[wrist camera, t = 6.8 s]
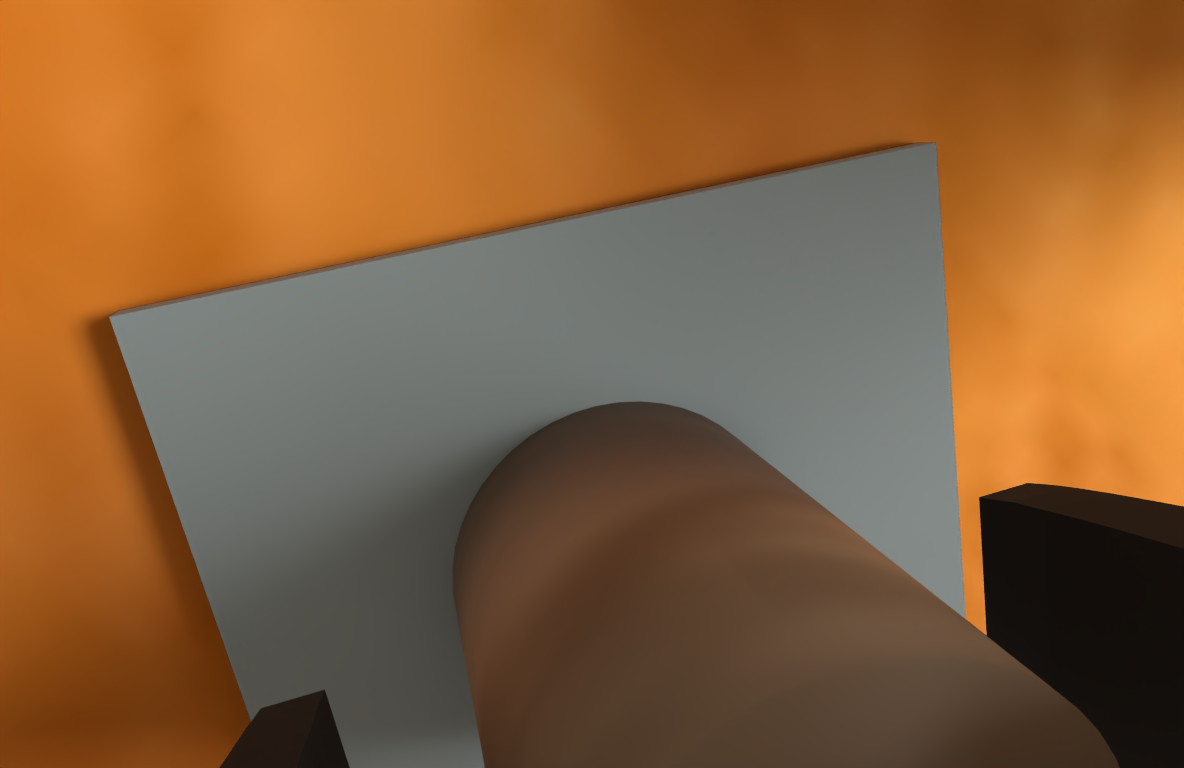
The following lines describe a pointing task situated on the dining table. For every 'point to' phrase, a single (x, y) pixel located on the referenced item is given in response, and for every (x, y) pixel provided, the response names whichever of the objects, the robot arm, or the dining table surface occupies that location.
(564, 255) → the slate pad
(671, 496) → the walnut cylinder
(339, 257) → the dining table surface
